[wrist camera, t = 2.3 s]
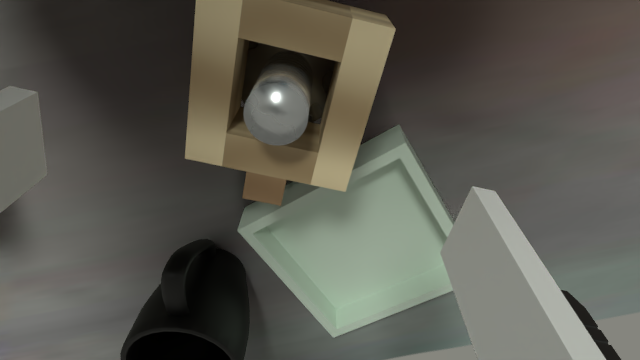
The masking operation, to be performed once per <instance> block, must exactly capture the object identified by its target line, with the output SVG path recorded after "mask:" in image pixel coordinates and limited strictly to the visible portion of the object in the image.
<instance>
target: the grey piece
mask: <svg viewBox="0 0 640 360" xmlns="http://www.w3.org/2000/svg"><path fill="white" fill-rule="evenodd" d="M335 62H336V61H334V60H330V59H325V58H321V57H317V56H313V55H309V54H304V53H300V52H296V51H292V50H288V49H283V48H279V47H275V46H271V45H267V44H262V43H258V42H254V41H250V40H249V48H248V55H247V62H246V69H245V77H244V84H243V91H242V100H243V101H244V103H245V106H244V112H243V114H244V121H245V124H246V126H247V128H248V130H249V131H250V133H251V134H252V135H253V136H254V137H255V138H257V139H258V140H260V141H261V142H263V143H266V144H269V145H275V146H280V145H287V144H290V143H292V142H294V141H295V140H297V139H298V138H299V137H300V136H301V135H302V134H303V132H304V131H305V129H306V127H307V123H308V122H314V121H316V120H318V119H319V118H321V117H322V115H323V111H324V107H325V102H326V98H327V94H328V90H329V86H330V82H331V78H332V74H333V70H334V66H335Z"/></svg>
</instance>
